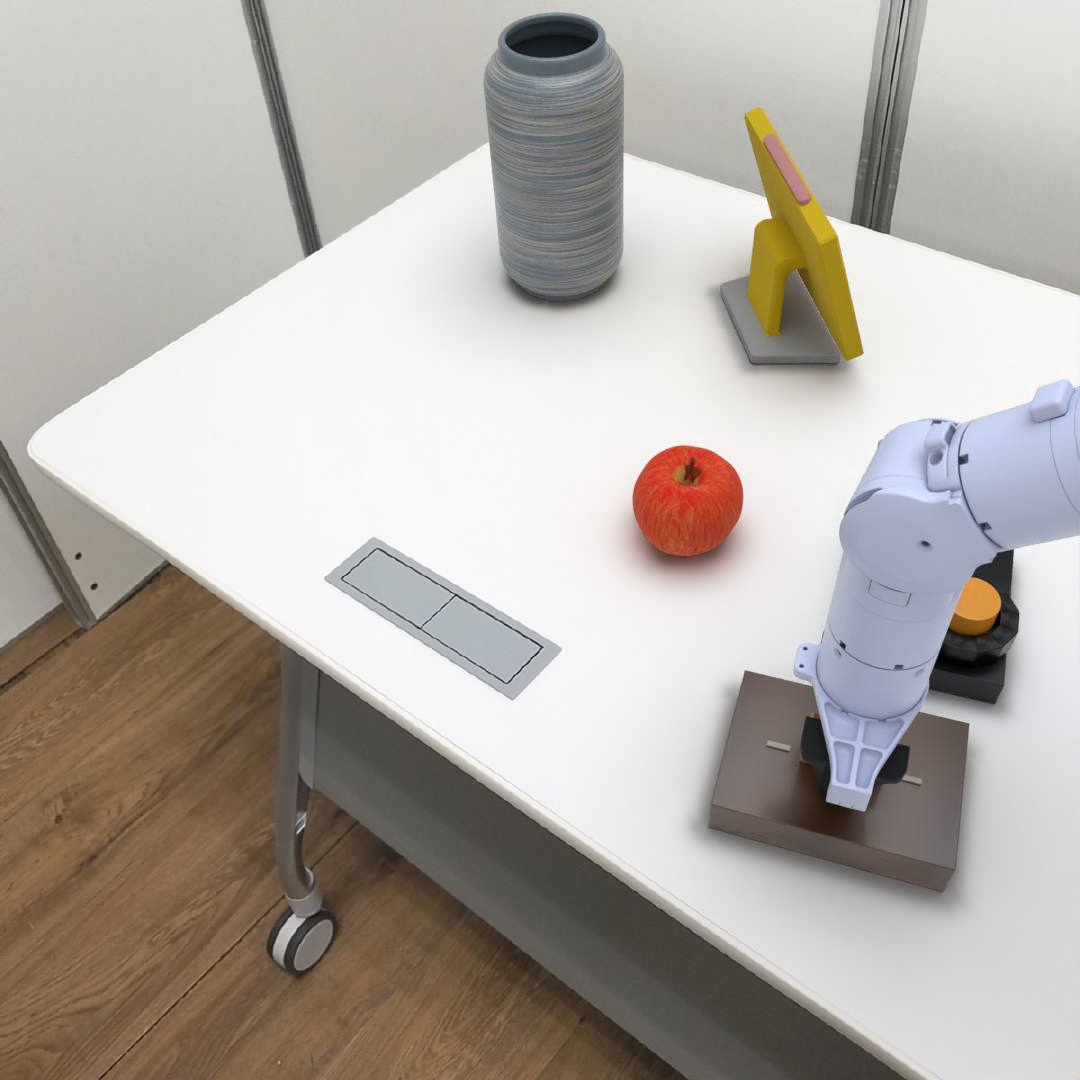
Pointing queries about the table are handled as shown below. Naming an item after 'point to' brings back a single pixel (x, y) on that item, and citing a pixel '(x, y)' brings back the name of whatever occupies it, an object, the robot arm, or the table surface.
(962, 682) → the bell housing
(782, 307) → the toy computer monitor
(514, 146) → the vase
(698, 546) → the apple
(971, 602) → the bell button
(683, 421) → the table surface
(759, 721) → the lock plate
